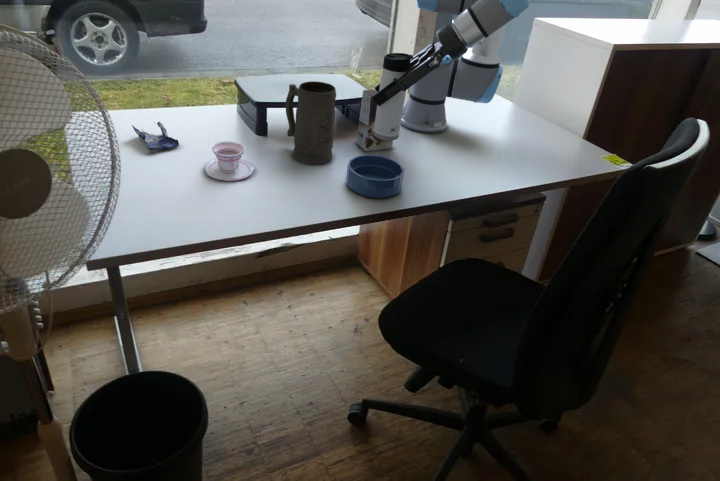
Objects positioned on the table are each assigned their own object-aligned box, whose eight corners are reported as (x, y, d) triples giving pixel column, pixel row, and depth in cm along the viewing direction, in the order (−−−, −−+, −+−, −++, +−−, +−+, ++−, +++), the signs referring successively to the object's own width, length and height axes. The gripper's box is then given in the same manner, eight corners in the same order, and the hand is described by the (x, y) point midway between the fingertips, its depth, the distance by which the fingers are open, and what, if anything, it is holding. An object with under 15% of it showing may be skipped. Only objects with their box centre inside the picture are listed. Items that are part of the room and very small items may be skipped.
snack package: (177, 134, 157) (132, 134, 153) (176, 114, 153) (130, 113, 149) (180, 160, 149) (132, 160, 145) (179, 139, 145) (130, 139, 141)
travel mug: (397, 143, 136) (411, 59, 125) (371, 138, 136) (382, 54, 125) (401, 133, 141) (414, 52, 130) (375, 128, 142) (386, 48, 131)
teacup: (201, 161, 145) (200, 139, 142) (247, 158, 150) (247, 137, 146) (209, 183, 136) (208, 160, 133) (258, 179, 141) (258, 157, 137)
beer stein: (341, 155, 158) (343, 84, 148) (323, 169, 150) (324, 94, 139) (293, 144, 163) (292, 74, 153) (273, 156, 155) (271, 84, 144)
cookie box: (365, 151, 162) (372, 97, 153) (355, 142, 167) (361, 89, 158) (392, 148, 166) (401, 95, 157) (382, 139, 171) (389, 87, 162)
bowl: (334, 182, 144) (336, 163, 141) (371, 168, 153) (374, 150, 150) (375, 205, 137) (378, 186, 134) (411, 189, 146) (415, 170, 143)
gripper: (471, 61, 118) (383, 123, 127) (467, 39, 134) (389, 96, 143) (451, 31, 115) (362, 97, 124) (449, 12, 131) (371, 72, 140)
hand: (377, 96), depth 134 cm, fingers closed on travel mug, 6 cm apart
